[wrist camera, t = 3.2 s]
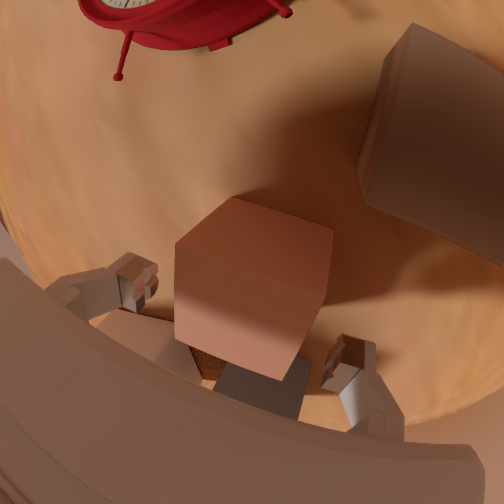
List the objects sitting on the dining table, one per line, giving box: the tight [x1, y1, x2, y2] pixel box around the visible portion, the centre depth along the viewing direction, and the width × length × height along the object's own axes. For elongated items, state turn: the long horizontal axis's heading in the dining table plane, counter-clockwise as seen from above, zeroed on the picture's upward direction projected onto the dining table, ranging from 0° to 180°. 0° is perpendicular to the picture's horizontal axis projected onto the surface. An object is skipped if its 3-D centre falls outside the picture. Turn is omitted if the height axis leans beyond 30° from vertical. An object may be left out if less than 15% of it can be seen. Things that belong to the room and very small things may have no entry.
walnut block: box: [355, 23, 504, 267], centre depth 7 cm, size 5×5×5 cm
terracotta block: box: [174, 197, 334, 381], centre depth 12 cm, size 5×5×5 cm
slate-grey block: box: [212, 356, 312, 421], centre depth 16 cm, size 5×5×5 cm
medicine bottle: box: [96, 309, 202, 385], centre depth 16 cm, size 7×7×12 cm
